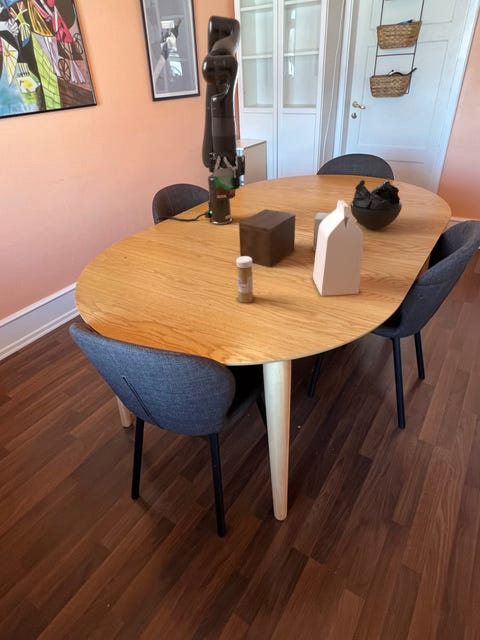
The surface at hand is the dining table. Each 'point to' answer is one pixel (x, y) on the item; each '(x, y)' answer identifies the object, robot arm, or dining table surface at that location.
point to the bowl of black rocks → (376, 205)
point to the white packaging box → (317, 221)
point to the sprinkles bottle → (245, 279)
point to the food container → (224, 183)
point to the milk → (338, 253)
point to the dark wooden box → (267, 236)
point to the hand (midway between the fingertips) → (227, 187)
